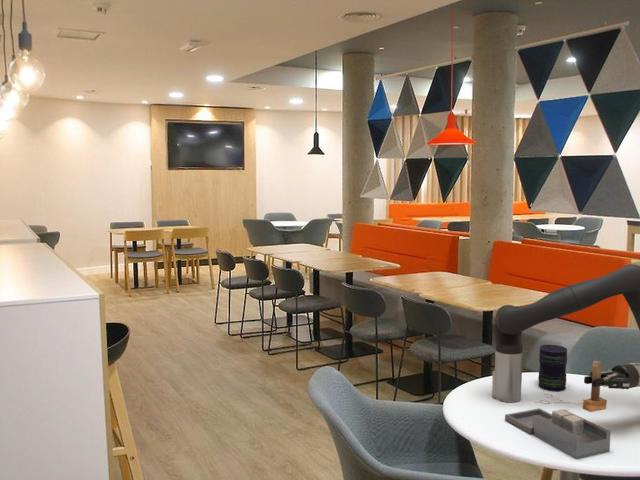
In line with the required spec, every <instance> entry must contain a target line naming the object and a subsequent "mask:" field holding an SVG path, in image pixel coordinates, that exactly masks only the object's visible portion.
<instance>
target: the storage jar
mask: <svg viewBox="0 0 640 480" xmlns="http://www.w3.org/2000/svg"><path fill="white" fill-rule="evenodd" d="M538 355H539V356H538V357H539V359H538V361H539V370H538V377H537V378H538V388H540V389H541V390H544V391H546V392H547V391H548V392H558V393H559V392H564V391H566V389H567V387H566V385H567V373H566V371H567V369H566V368H567V364H568V349H567V347H565V346H563V345H562V346H561V345H557V344H543V345H540V346H539V354H538Z"/></svg>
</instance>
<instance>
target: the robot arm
mask: <svg viewBox="0 0 640 480" xmlns="http://www.w3.org/2000/svg"><path fill="white" fill-rule="evenodd" d="M620 295H622V296H623V297H624V300H625V301H626V302H627V303H626V304H627V305H628V307H629V310H630V311H631V313H632V315H633V317H634V320H635V322H636V325H637V328H638V330H639V331H640V265H639V264H638V265H637V264H632V263H631V264H626V265H623V266H622V267H620V268H618V269H617V270H614V271H611V272H610V273H608V274H605V275H603V276H599V277H597V278H591V279H588V280H584V281H581V282H580V281H579V282H576V283H572V284H570V285H566V286H563V287H561V288H557V289H555V290H553V291H551V292H549V293H548V294H546V295H545V296H543V297H541V298H540V299H538V300H536V301H534V302H531V303H529V304H527V305H524V306H520V307H517V306H515V305H512V304H504V305H502V306H499V308H498V310H497V311H496V313H495V317H494V344H495V346H494V349H495V354H494V370H493V371H492V384H491V386H492V387H491V389H492V390H491V398H494V399H496V400H498V401H500V402H505V403H506V402H507V403H516V402H520V401H521V400H522V381H523V380H522V379H523V378H522V377H523V375H522V374H523V347H524V346H523V338H522V337H523V336H522V335H523V334H522V333H523V332H524V331H525V330H529V329H530V328H532V327H534V326H537V325H539V324H541V323H544V322H547V321H551V320H554V319H558V318H559V319H560V318H561V317H564V316H568V315H570V314H575V313H576V312H580V311H583V310H585V309H588V308H590V307H592V306H595V305H596V304H598V303H601V302H602V301H604V300H606V299H610V298H612V297H615V296H620ZM592 371H593V370H591V371H590V372H589V375H587V376H584V378H583V379H584V380H583V382H584V384H585V385H588V384H589V385H590V384H591V387H599V386H600V387H604V388H606V387H608V389H616V390H617V389H618V390H620V389H621V390H629V389H632V388H633V389H634V388H639V387H640V362H630V363H622V364H616V365H614V366H613V367H612V368H611V370H610V369H609V370H604V371H601V378H600V379H593V380H592Z"/></svg>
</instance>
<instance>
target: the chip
mask: <svg viewBox="0 0 640 480" xmlns="http://www.w3.org/2000/svg"><path fill="white" fill-rule="evenodd" d="M575 415H576V414H575ZM575 415H569V416H564V417H563V429H565V430H567V431H569V432H571V433H573V434H578V433H583V421H584V419H585V418H583V417H581V416H579V417H577V416H578V415H577V416H575ZM580 417H581V418H580ZM582 418H583V419H582Z"/></svg>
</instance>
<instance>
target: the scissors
mask: <svg viewBox="0 0 640 480" xmlns="http://www.w3.org/2000/svg"><path fill="white" fill-rule="evenodd" d="M542 396H543V397H544V398H548V399H550V398H551V399H556V400H557V401H550V400H547V399H540V400H539V401H533V403H534V404H536V403H540V404H542V405H549V404H552V403H553V404H560V403H561V404H569V405H573V406H578V407H582V408H583V402H581V403H580V402H574V401H568V400H564V399H560V398H558V397H555V396H554V395H552V394H549V393H543V394H542Z"/></svg>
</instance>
